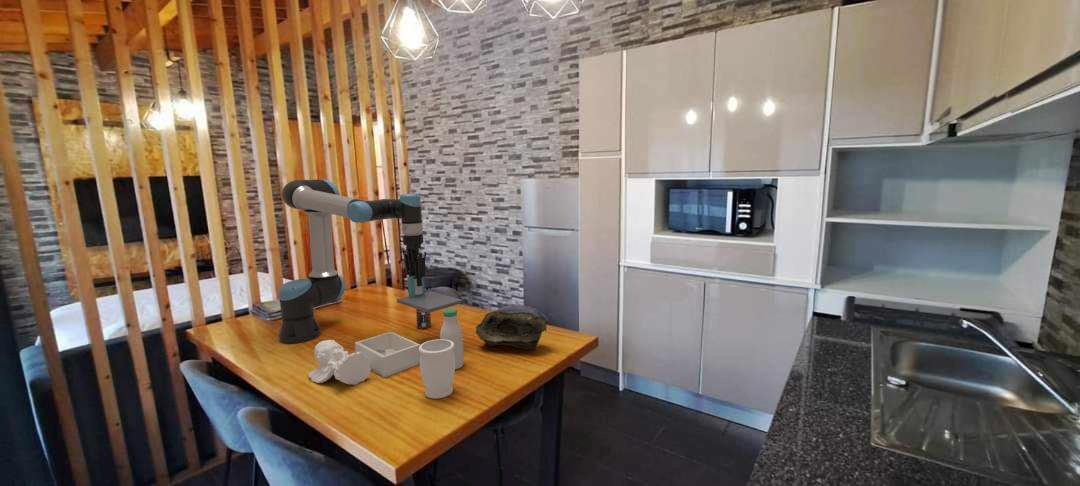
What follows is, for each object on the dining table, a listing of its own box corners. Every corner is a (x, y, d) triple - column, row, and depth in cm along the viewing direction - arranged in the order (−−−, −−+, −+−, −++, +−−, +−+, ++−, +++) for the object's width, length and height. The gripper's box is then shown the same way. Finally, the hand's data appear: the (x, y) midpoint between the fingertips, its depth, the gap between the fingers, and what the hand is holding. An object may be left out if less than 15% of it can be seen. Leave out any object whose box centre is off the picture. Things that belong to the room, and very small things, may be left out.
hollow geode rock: (547, 363, 160) (557, 326, 168) (538, 350, 150) (549, 311, 158) (482, 350, 171) (494, 316, 178) (469, 337, 161) (483, 302, 168)
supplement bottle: (427, 329, 184) (425, 304, 182) (414, 328, 185) (413, 303, 184) (433, 324, 190) (432, 300, 188) (421, 324, 191) (419, 299, 189)
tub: (356, 361, 153) (354, 342, 152) (392, 349, 164) (390, 331, 162) (384, 377, 140) (382, 357, 139) (421, 363, 150) (420, 344, 149)
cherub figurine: (330, 363, 127) (299, 341, 139) (333, 400, 130) (302, 376, 142) (370, 348, 137) (339, 329, 149) (372, 382, 140) (341, 361, 152)
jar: (425, 384, 135) (422, 339, 132) (458, 383, 136) (456, 337, 133) (418, 402, 124) (415, 353, 122) (454, 400, 125) (452, 351, 123)
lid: (397, 304, 164) (395, 278, 162) (430, 295, 175) (429, 271, 173) (428, 315, 150) (426, 287, 148) (462, 305, 161) (461, 279, 159)
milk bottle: (468, 362, 150) (465, 307, 147) (456, 372, 143) (454, 314, 140) (448, 359, 153) (446, 306, 150) (437, 369, 146) (433, 312, 143)
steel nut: (369, 359, 152) (368, 353, 151) (377, 355, 155) (376, 349, 155) (377, 361, 150) (377, 355, 150) (385, 357, 154) (385, 350, 154)
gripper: (393, 233, 166) (398, 292, 170) (414, 236, 156) (419, 299, 160) (410, 231, 172) (414, 288, 175) (432, 234, 162) (436, 294, 165)
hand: (416, 293), depth 168 cm, fingers closed on lid, 2 cm apart
